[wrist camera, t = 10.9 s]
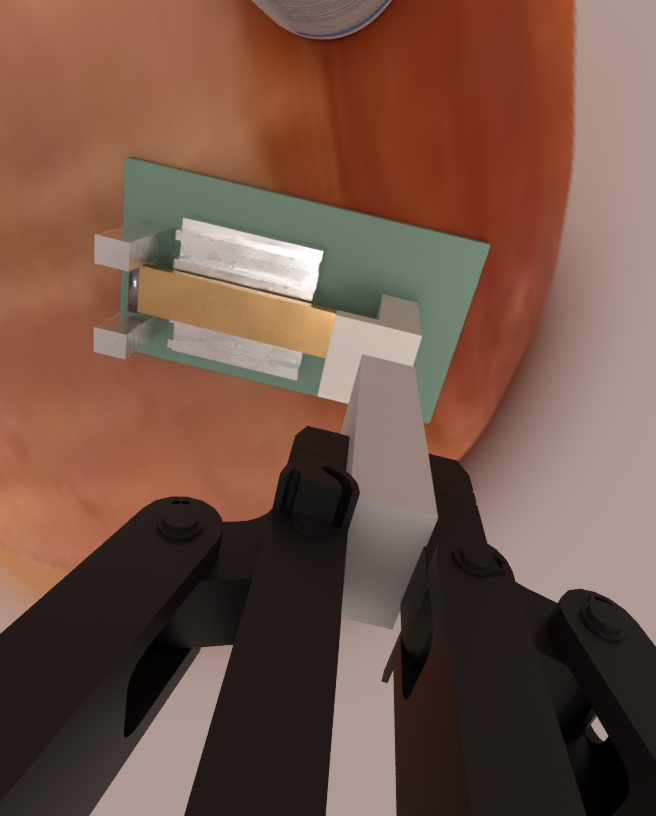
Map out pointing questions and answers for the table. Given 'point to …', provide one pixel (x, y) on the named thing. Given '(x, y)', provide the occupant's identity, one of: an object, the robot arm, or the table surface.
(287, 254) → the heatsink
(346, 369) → the latch
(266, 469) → the table surface
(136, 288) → the strap
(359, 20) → the supplement tub
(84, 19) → the table surface
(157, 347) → the board
